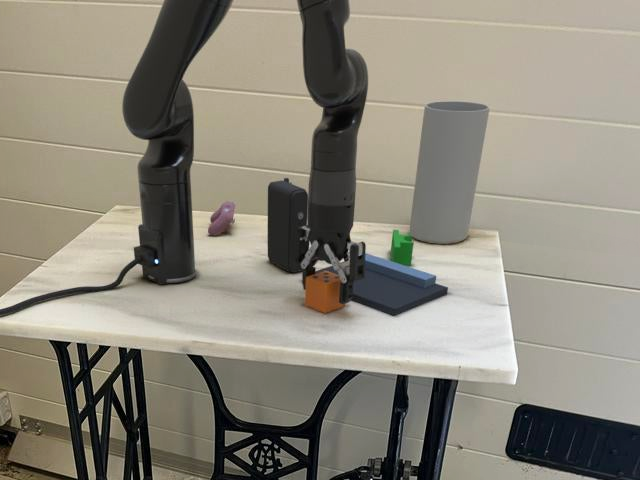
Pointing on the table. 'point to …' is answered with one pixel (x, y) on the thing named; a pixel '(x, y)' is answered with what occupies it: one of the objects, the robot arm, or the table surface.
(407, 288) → the bed mat
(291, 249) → the dark grey rounded box
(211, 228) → the purple rounded lump
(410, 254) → the pipe clamp
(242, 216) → the table surface
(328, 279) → the die
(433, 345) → the table surface
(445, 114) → the cylinder vase
